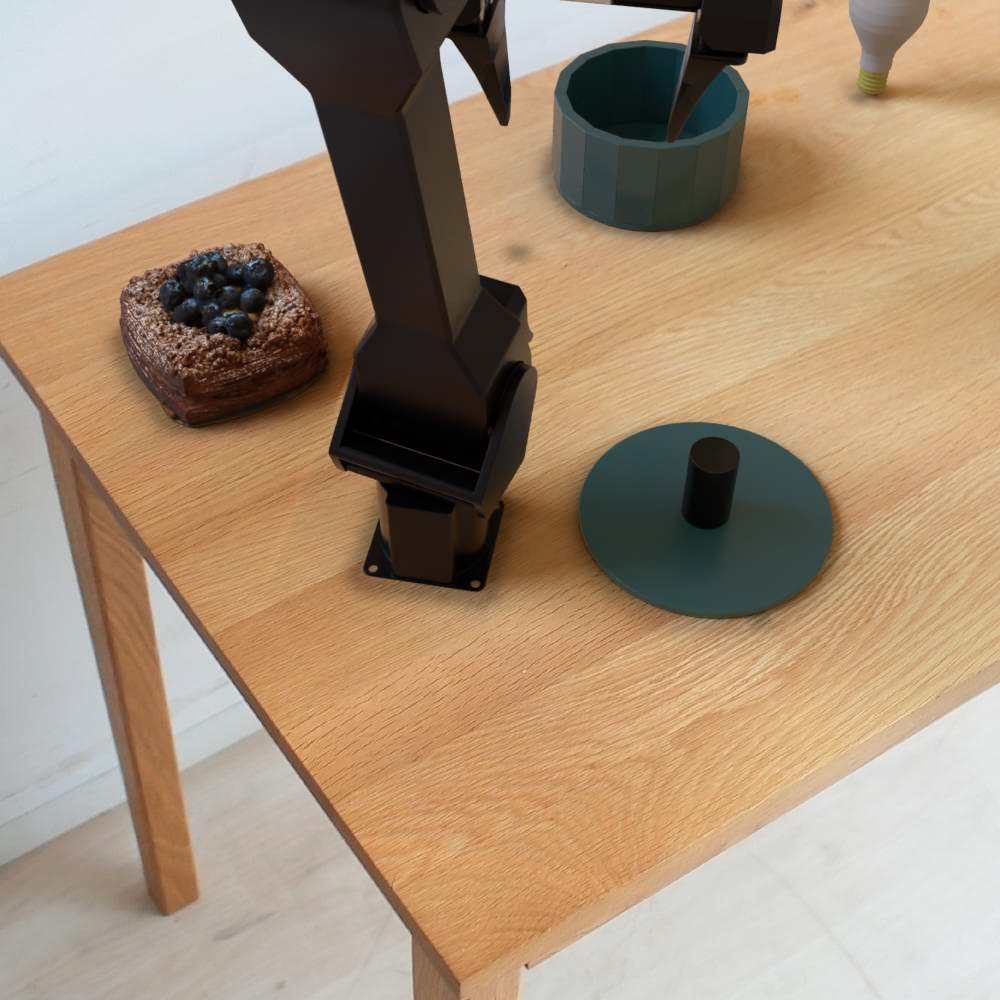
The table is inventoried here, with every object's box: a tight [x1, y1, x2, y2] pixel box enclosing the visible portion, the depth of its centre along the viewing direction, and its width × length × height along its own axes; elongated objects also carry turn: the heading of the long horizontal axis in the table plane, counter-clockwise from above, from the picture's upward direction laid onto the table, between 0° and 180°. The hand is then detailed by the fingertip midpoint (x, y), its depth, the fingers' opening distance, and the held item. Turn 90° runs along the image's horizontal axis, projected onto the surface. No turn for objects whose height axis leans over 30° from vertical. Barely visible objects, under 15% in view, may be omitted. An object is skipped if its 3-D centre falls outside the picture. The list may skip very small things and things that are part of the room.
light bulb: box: [848, 0, 931, 96], centre depth 102 cm, size 6×5×10 cm
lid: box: [578, 421, 834, 619], centre depth 76 cm, size 14×14×6 cm
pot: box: [551, 39, 751, 232], centre depth 97 cm, size 13×13×6 cm
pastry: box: [118, 242, 331, 427], centre depth 85 cm, size 11×12×6 cm
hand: (587, 130), depth 80 cm, fingers open, 9 cm apart
